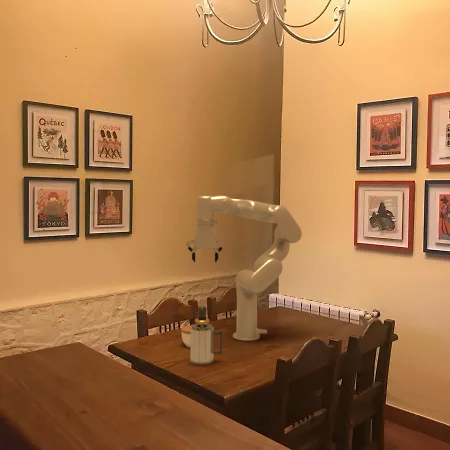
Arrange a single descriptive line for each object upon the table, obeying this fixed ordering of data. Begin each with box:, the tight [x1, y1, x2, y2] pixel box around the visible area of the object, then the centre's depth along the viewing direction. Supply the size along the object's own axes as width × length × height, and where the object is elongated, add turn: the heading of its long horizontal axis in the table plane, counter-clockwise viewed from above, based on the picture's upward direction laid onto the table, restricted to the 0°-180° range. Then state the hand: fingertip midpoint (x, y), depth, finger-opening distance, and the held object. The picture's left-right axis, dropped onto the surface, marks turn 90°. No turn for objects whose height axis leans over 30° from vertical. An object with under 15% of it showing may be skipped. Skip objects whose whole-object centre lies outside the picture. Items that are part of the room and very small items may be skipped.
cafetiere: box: [189, 323, 223, 366], centre depth 199 cm, size 13×9×14 cm
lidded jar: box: [180, 324, 193, 349], centre depth 220 cm, size 11×11×9 cm
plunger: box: [194, 305, 210, 327], centre depth 198 cm, size 6×6×20 cm
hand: (205, 261), depth 224 cm, fingers open, 9 cm apart
